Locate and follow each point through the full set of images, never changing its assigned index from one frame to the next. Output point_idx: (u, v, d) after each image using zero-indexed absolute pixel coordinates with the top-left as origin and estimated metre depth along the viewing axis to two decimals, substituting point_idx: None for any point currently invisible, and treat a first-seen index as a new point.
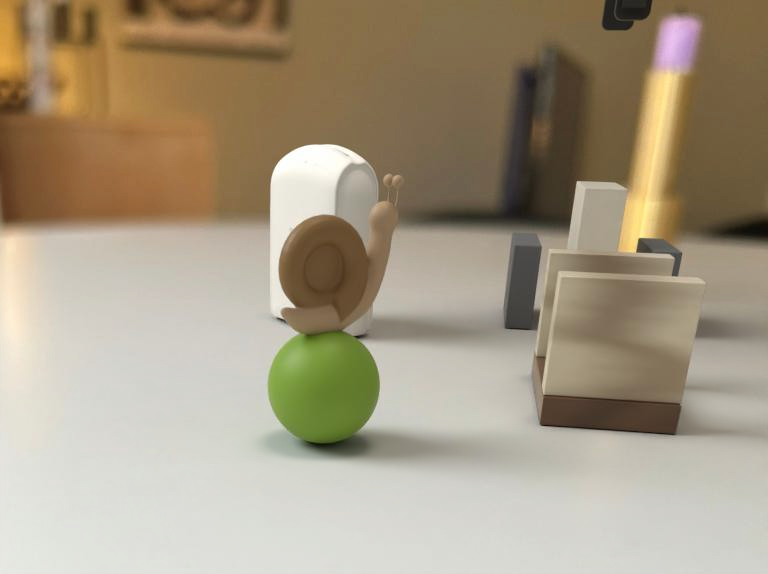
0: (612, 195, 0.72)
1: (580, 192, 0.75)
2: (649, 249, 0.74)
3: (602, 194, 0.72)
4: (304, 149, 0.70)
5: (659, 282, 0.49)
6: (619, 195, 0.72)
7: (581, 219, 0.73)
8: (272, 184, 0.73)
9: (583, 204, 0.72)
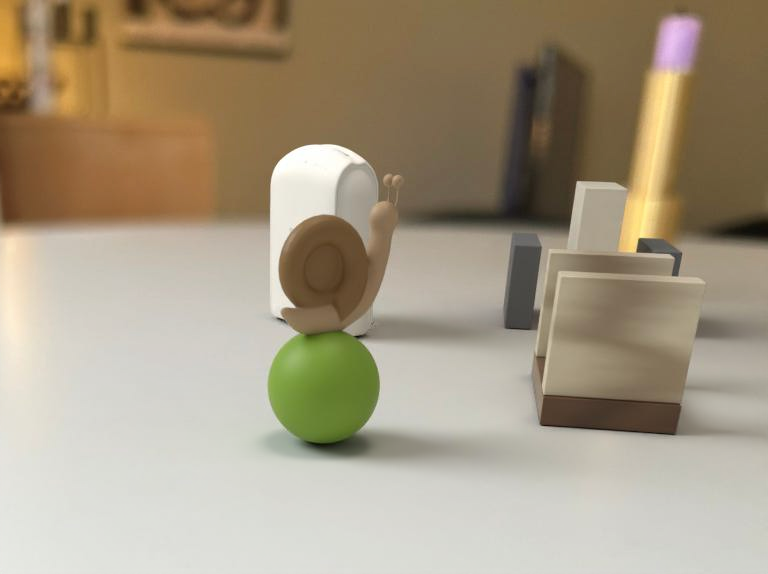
0: (612, 195, 0.72)
1: (580, 192, 0.75)
2: (649, 249, 0.74)
3: (602, 194, 0.72)
4: (304, 149, 0.70)
5: (659, 282, 0.49)
6: (619, 195, 0.72)
7: (581, 219, 0.73)
8: (272, 184, 0.73)
9: (583, 204, 0.72)
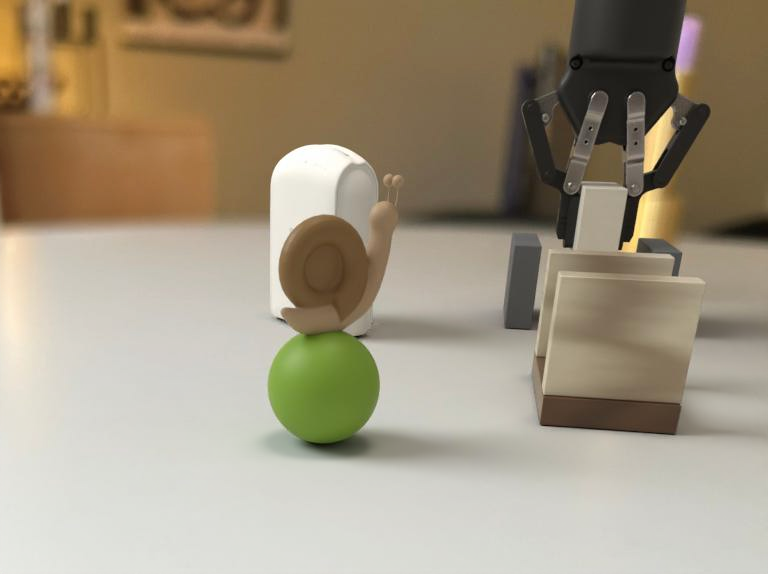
0: (612, 195, 0.72)
1: (580, 192, 0.75)
2: (649, 249, 0.74)
3: (602, 194, 0.72)
4: (304, 149, 0.70)
5: (659, 282, 0.49)
6: (619, 195, 0.72)
7: (581, 219, 0.73)
8: (272, 184, 0.73)
9: (583, 204, 0.72)
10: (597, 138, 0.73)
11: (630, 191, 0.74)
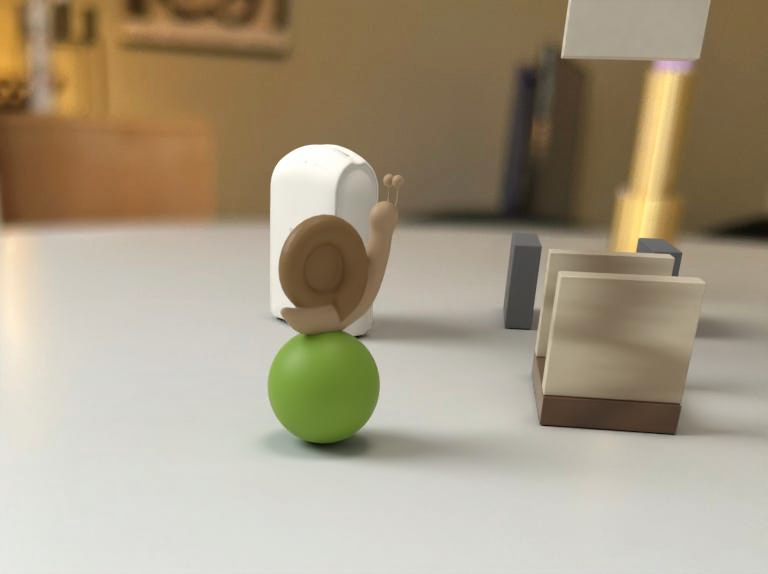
0: None
1: None
2: (649, 249, 0.74)
3: None
4: (304, 149, 0.70)
5: (659, 282, 0.49)
6: None
7: None
8: (272, 184, 0.73)
9: None
10: None
11: None
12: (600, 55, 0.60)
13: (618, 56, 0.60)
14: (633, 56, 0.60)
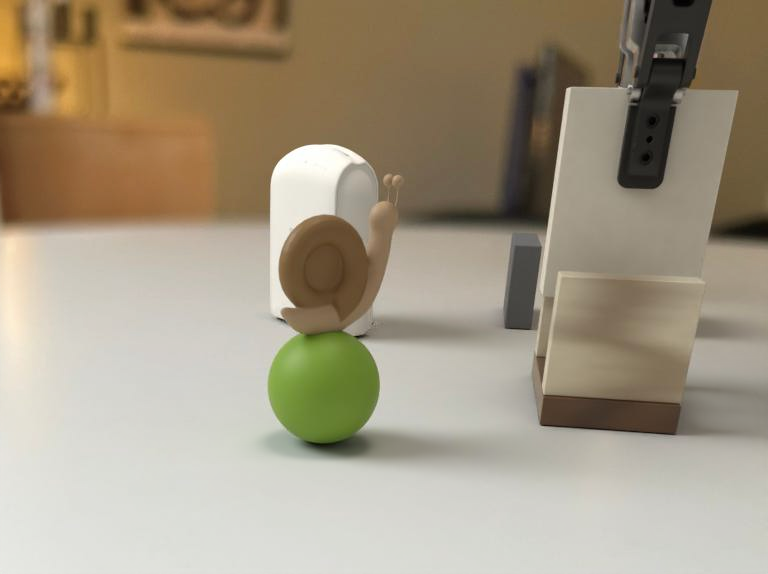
0: None
1: None
2: None
3: None
4: (304, 149, 0.70)
5: (659, 282, 0.49)
6: None
7: (728, 139, 0.49)
8: (272, 184, 0.73)
9: (732, 116, 0.49)
10: None
11: None
12: None
13: None
14: None
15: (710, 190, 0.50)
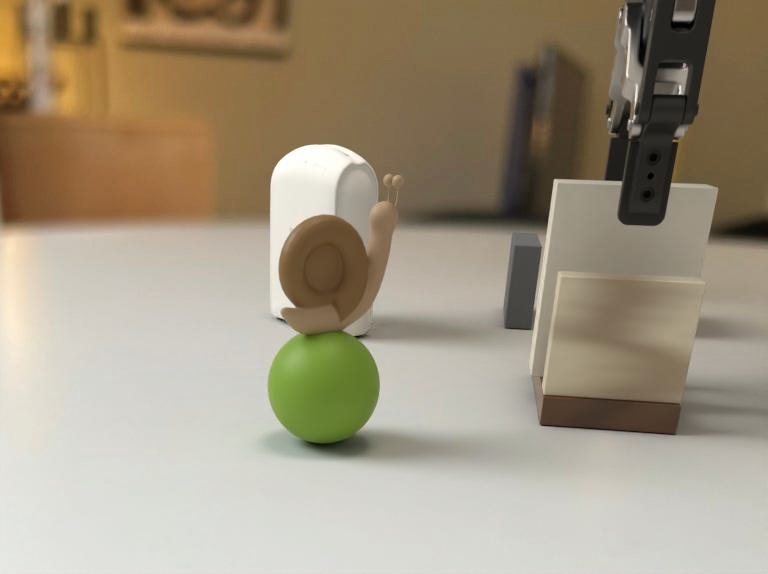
0: None
1: None
2: None
3: None
4: (304, 149, 0.70)
5: (659, 282, 0.49)
6: None
7: (709, 232, 0.51)
8: (272, 184, 0.73)
9: (712, 211, 0.51)
10: None
11: None
12: None
13: None
14: None
15: None
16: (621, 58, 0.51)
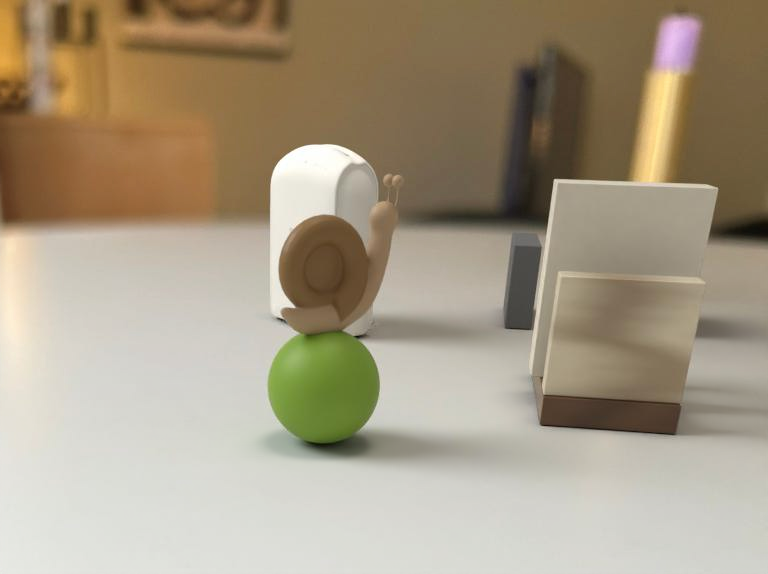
0: None
1: (651, 196, 0.51)
2: None
3: None
4: (304, 149, 0.70)
5: (659, 282, 0.49)
6: None
7: (709, 232, 0.51)
8: (272, 184, 0.73)
9: (712, 211, 0.51)
10: None
11: None
12: None
13: None
14: None
15: None
16: None
